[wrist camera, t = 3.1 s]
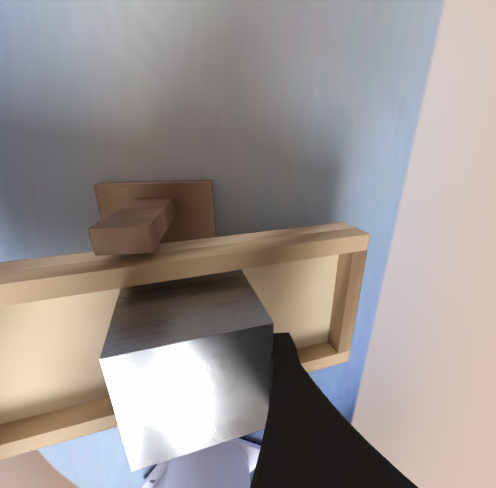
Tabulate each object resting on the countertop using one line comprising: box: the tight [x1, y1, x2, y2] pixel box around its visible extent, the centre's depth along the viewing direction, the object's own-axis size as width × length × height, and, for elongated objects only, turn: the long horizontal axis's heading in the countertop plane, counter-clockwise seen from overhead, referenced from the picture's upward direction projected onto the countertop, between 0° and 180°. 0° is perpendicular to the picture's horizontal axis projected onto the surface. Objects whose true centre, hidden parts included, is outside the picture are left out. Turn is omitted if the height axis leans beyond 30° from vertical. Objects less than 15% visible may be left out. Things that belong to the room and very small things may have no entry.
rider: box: [99, 270, 274, 472], centre depth 10 cm, size 5×5×4 cm
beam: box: [0, 222, 370, 460], centre depth 12 cm, size 20×8×2 cm, turn 91°
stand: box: [88, 180, 216, 256], centre depth 14 cm, size 6×12×6 cm, turn 1°
